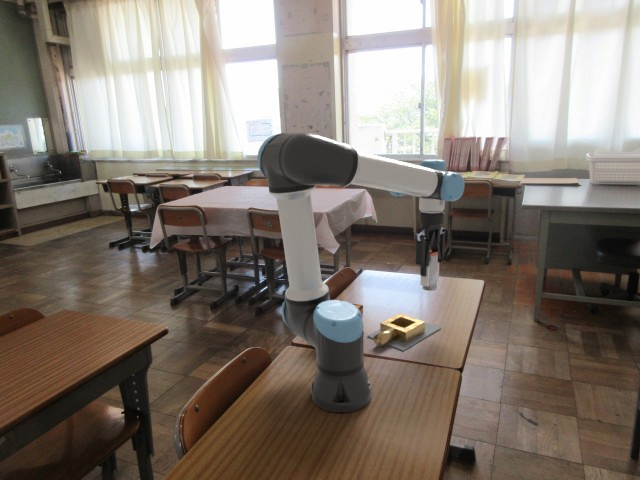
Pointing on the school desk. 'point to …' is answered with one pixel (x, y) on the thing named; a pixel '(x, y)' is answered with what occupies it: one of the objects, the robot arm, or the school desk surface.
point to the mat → (403, 346)
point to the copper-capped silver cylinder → (432, 271)
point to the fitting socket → (399, 329)
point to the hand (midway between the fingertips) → (429, 283)
